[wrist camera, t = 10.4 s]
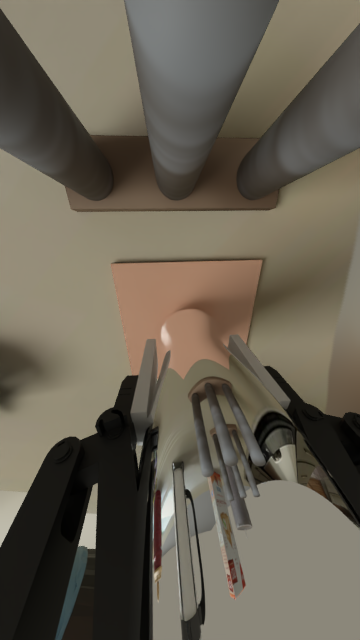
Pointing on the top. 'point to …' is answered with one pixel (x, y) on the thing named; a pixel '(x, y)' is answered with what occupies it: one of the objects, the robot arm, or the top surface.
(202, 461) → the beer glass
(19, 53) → the rack
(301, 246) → the top surface
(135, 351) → the tile pad
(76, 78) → the top surface
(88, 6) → the top surface
